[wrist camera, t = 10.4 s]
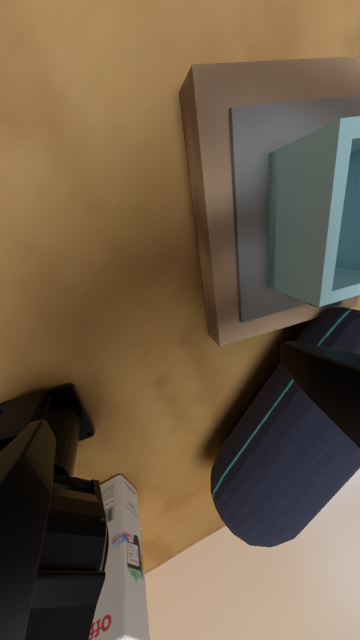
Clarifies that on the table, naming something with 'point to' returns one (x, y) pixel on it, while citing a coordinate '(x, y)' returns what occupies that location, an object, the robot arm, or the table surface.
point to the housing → (316, 215)
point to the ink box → (122, 568)
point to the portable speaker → (286, 450)
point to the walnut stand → (252, 176)
